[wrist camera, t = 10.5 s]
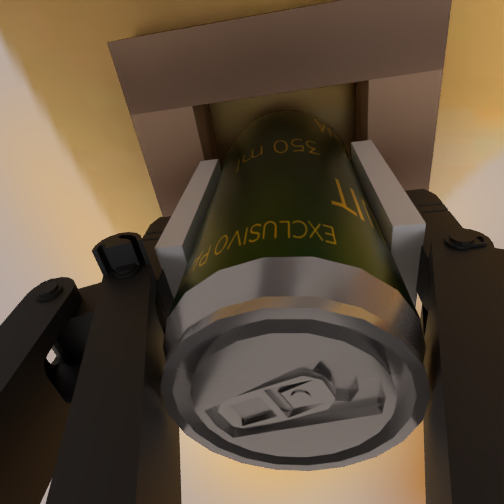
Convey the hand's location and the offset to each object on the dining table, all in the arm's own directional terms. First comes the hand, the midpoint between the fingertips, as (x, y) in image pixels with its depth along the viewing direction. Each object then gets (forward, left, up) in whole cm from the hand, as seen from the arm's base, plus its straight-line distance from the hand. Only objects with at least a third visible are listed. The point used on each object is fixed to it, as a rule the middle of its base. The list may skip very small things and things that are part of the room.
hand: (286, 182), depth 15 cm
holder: (0, 0, -4) cm, 4 cm away
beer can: (0, 0, -2) cm, 2 cm away
